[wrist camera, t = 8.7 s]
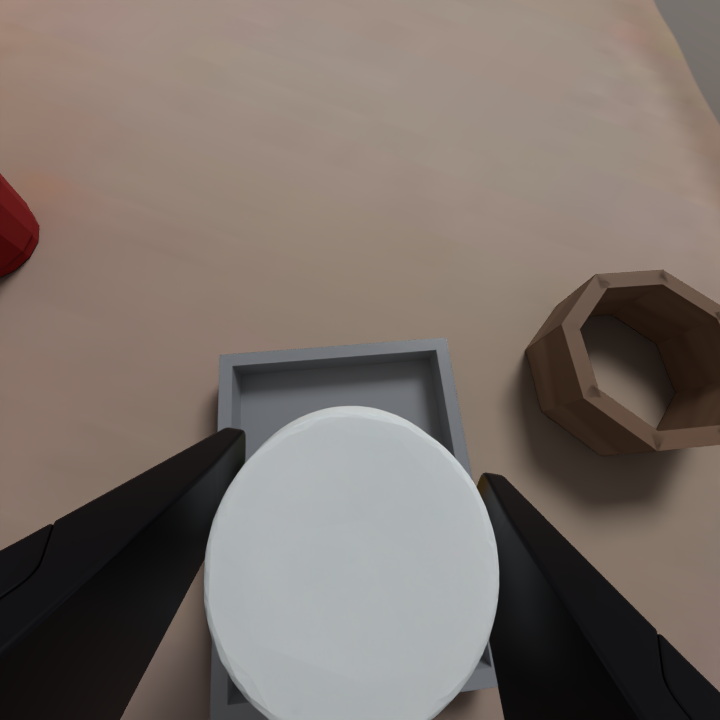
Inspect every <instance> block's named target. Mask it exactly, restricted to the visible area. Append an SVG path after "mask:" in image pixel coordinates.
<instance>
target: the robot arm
mask: <svg viewBox="0 0 720 720" xmlns="http://www.w3.org/2000/svg"><path fill="white" fill-rule="evenodd" d="M245 460H246V434H245V431H244V430H242V429H236V428H230V427H226V428H224V429H222V430H220V431H218V432H216V433H215V434H213V435H211V436H209V437H207V438H206V439H204V440H202V441H200V442H198V443H196V444H195V445H193V446H191V447H189V448H187V449H185V450H184V451H182V452H180V453H178V454H176V455H175V456H173V457H171V458H169V459H167V460H165V461H164V462H162V463H160V464H158V465H156V466H155V467H153V468H151V469H149V470H147V471H145V472H144V473H142V474H140V475H138V476H136V477H135V478H133V479H131V480H129V481H127V482H125V483H124V484H122V485H120V486H118V487H116V488H115V489H113V490H111V491H109V492H107V493H105V494H104V495H102V496H100V497H98V498H96V499H95V500H93V501H91V502H89V503H87V504H85V505H84V506H82V507H80V508H78V509H76V510H75V511H73V512H71V513H69V514H67V515H65V516H64V517H62V518H60V519H58V520H56V521H55V523H54V525H52V524H49V525H47V526H45V527H43V528H41V529H40V530H38V531H36V532H34V533H32V534H31V535H29V536H27V537H25V538H23V539H21V540H19V541H18V542H16V543H14V544H12V545H10V546H8V547H6V548H4V549H3V550H1V551H0V720H120V718H121V717H122V715H123V713H124V711H125V709H126V707H127V705H128V703H129V701H130V699H131V698H132V696H133V694H134V692H135V690H136V688H137V686H138V684H139V682H140V680H141V679H142V677H143V675H144V673H145V671H146V669H147V667H148V665H149V663H150V661H151V659H152V658H153V656H154V654H155V652H156V650H157V648H158V646H159V644H160V642H161V640H162V639H163V637H164V635H165V633H166V631H167V629H168V627H169V625H170V623H171V621H172V620H173V618H174V616H175V614H176V612H177V610H178V608H179V606H180V604H181V602H182V601H183V599H184V597H185V595H186V593H187V591H188V589H189V587H190V585H191V583H192V582H193V580H194V578H195V576H196V574H197V572H198V570H199V568H200V566H201V564H202V563H203V561H204V559H205V552H206V547H207V542H208V538H209V534H210V530H211V526H212V522H213V519H214V517H215V514H216V512H217V510H218V507H219V505H220V503H221V500H222V498H223V496H224V494H225V492H226V491H227V489H228V487H229V485H230V484H231V482H232V481H233V479H234V478H235V477H236V475H237V473H238V472H239V471H240V469H241V468H242V467H243V465H244V464H245ZM476 488H477V489H478V492H479V494H480V496H481V498H482V500H483V502H484V504H485V506H486V509H487V512H488V515H489V518H490V521H491V524H492V528H493V531H494V535H495V540H496V545H497V553H498V562H499V594H498V603H497V609H496V614H495V618H494V623H493V626H492V630H491V633H490V637H489V643H490V648H491V653H492V659H493V664H494V669H495V674H496V679H497V684H498V689H499V694H500V699H501V704H502V709H503V715H504V720H720V692H719V691H718V690H717V689H716V688H715V687H714V686H713V685H712V684H711V683H710V682H709V681H708V680H707V679H706V678H705V677H704V676H703V675H702V674H701V673H699V672H698V671H697V670H696V669H695V668H694V667H693V666H692V665H691V664H690V663H689V662H688V661H687V660H686V659H685V658H684V657H683V656H682V655H681V654H680V653H679V652H678V651H677V650H676V649H675V648H674V647H673V646H672V645H671V644H670V643H669V642H668V641H667V640H666V639H665V638H664V637H663V636H662V635H660V634H657V630H656V629H655V628H654V627H653V626H652V625H651V624H650V623H649V622H648V621H647V620H646V619H645V618H644V617H643V616H642V615H641V614H640V613H639V612H638V611H637V610H636V609H635V608H634V607H633V606H632V605H631V604H630V603H629V602H628V601H627V600H626V599H625V598H624V597H623V596H622V595H621V594H620V593H619V592H618V591H617V590H616V589H615V588H614V587H613V586H612V585H611V584H610V583H609V582H608V581H607V580H606V579H605V578H604V577H603V576H602V575H601V574H600V573H599V572H598V571H597V570H596V569H595V568H594V567H593V566H592V565H591V564H590V563H589V562H588V561H587V560H586V559H585V558H584V557H583V556H582V555H581V554H580V553H579V552H578V551H577V550H576V549H575V548H574V547H573V546H572V545H571V544H570V543H569V542H568V541H567V540H566V539H565V538H564V537H563V536H562V535H561V534H560V533H559V532H558V531H557V530H556V529H555V528H554V527H553V526H552V525H551V524H550V523H549V522H548V521H547V520H546V519H545V517H544V516H543V515H542V514H541V513H540V512H539V511H538V510H537V509H536V508H535V507H534V506H533V505H532V504H531V503H530V502H529V501H528V500H527V499H526V498H525V497H524V496H523V495H522V494H521V493H520V492H519V491H518V490H517V489H516V488H515V487H514V486H513V485H512V484H511V483H510V482H509V481H508V480H507V479H506V478H505V477H503V476H502V475H498V474H492V473H483V474H482V475H481V477H480V479H479V482H478V485H477V487H476Z"/></svg>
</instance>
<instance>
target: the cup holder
mask: <svg viewBox="0 0 720 720" xmlns="http://www.w3.org/2000/svg"><path fill="white" fill-rule="evenodd" d="M601 315H613V316H615V317H616V318H618V319H619V320H621V321H622V322H624V323H625V324H627V325H628V326H630V327H631V328H633V329H634V330H636V331H637V332H639V333H640V334H642V335H644V336H645V337H647V338H648V339H650V340H651V341H653V342H654V343H656V344H657V346H658V349H659V351H660V354H661V357H662V359H663V362H664V364H665V367H666V370H667V372H668V375H669V377H670V380H671V383H672V385H673V388H674V391H675V395H674V397H673V399H672V401H671V403H670V405H669V407H668V408H667V410H666V412H665V414H664V416H663V418H662V420H661V422H660V424H659V426H658V427H657V429H654V428H653V427H651V426H650V425H649V424H647V423H646V422H644V421H643V420H642V419H640V418H639V417H637V416H636V415H634V414H633V413H632V412H630V411H629V410H627V409H626V408H625V407H623V406H622V405H620V404H619V403H618V402H616V401H615V400H613V399H612V398H610V397H609V396H608V395H606V394H605V393H603V392H602V391H601V390H599V389H598V386H597V382H596V379H595V376H594V373H593V370H592V366H591V363H590V360H589V357H588V354H587V351H586V347H585V344H584V341H583V338H582V335H581V332H580V328H581V327H582V325H583V324H584V322H585V321H586V319H587V318H588V316H601ZM526 353H527V357H528V360H529V364H530V368H531V372H532V376H533V380H534V384H535V388H536V391H537V395H538V399H539V403H540V407H541V411H542V412H543V413H544V414H545V415H547V416H548V417H549V418H551V419H552V420H553V421H555V422H556V423H557V424H559V425H560V426H562V427H563V428H564V429H566V430H567V431H568V432H570V433H571V434H572V435H574V436H575V437H576V438H578V439H579V440H580V441H582V442H583V443H584V444H586V445H587V446H588V447H590V448H591V449H592V450H594V451H595V452H597V453H598V454H599V455H600V456H607V455H619V454H631V453H644V452H656V451H663V450H672V449H682V448H692V447H701V446H711V445H720V305H719V304H717V303H716V302H714V301H712V300H711V299H709V298H708V297H706V296H704V295H703V294H701V293H700V292H698V291H696V290H695V289H693V288H691V287H690V286H688V285H687V284H685V283H683V282H682V281H680V280H679V279H677V278H675V277H674V276H672V275H671V274H669V273H667V272H666V271H664V270H652V271H637V272H622V273H607V274H595V275H594V276H593V277H592V278H590V279H589V280H588V281H587V282H585V283H584V284H583V285H582V286H581V287H579V288H578V289H577V290H576V291H574V292H573V293H572V294H571V295H569V296H568V297H567V298H566V299H564V300H563V301H562V302H561V303H559V304H558V305H557V306H556V307H555V309H554V310H553V312H552V313H551V314H550V316H549V317H548V319H547V320H546V321H545V323H544V324H543V326H542V327H541V329H540V330H539V331H538V333H537V334H536V336H535V337H534V338H533V340H532V341H531V343H530V344H529V345H528V347H527V348H526Z"/></svg>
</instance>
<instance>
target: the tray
mask: <svg viewBox="0 0 720 720" xmlns="http://www.w3.org/2000/svg"><path fill="white" fill-rule="evenodd" d="M338 406H363V407H371V408H376V409H380V410H383V411H387V412H389V413H392V414H395V415H397V416H399V417H402V418H404V419H406V420H408V421H409V422H411V423H413V424H414V425H416V426H417V427H419V428H420V429H422V430H423V431H424V432H425V433H427V434H428V435H429V436H431V437H432V438H434V439H435V440H436V441H438V442H439V443H440V444H441V445H442V446H444V447H445V448H446V449H447V450H448V451H449V452H450V453H451V454H452V455H453V456H454V458H455V459H456V460H457V461H458V462H459V463H460V464H461V466H462V467H463V468H464V469H465V471H466V472H467V473H468V474H469V476H470V477H471V479H472V474H471V468H470V463H469V457H468V452H467V447H466V441H465V436H464V431H463V425H462V420H461V414H460V409H459V404H458V398H457V393H456V388H455V382H454V377H453V371H452V366H451V361H450V355H449V350H448V345H447V339H446V338H434V339H421V340H408V341H395V342H382V343H369V344H356V345H343V346H330V347H317V348H304V349H291V350H278V351H265V352H252V353H239V354H226V355H220V360H219V397H218V431H220V430H222V429H224V428H226V427H230V428H236V429H242V430H244V431H245V434H246V460H245V463H246V462H247V461H248V460H249V459H250V457H251V456H252V455H253V454H254V453H255V452H256V451H257V450H258V449H259V448H260V447H261V446H262V445H263V443H264V442H266V441H267V440H268V439H269V438H270V437H271V436H272V435H274V434H275V433H276V432H277V431H279V430H280V429H281V428H283V427H284V426H286V425H287V424H289V423H290V422H292V421H294V420H296V419H298V418H300V417H302V416H304V415H307V414H309V413H312V412H315V411H318V410H322V409H326V408H331V407H338ZM472 481H473V479H472ZM492 687H498V684H497V679H496V674H495V669H494V664H493V659H492V653H491V648H490V643H489V640H488V642H487V645H486V647H485V650H484V652H483V655H482V657H481V659H480V660H479V662H478V664H477V666H476V668H475V670H474V672H473V674H472V675H471V677H470V678H469V679H468V681H467V682H466V684H465V685H464V686H463V688H462V689H461V690H460V692H465V691H471V690H478V689H485V688H492ZM210 720H268V719H267V718H265V717H264V716H263V715H262V714H261V713H260V712H259V711H257V710H256V709H255V708H254V707H253V706H252V704H251V703H250V702H249V701H248V700H247V699H246V698H245V697H244V696H243V694H242V693H241V692H240V690H239V689H238V688H237V687H236V685H235V684H234V682H233V681H232V679H231V678H230V676H229V675H228V673H227V672H226V670H225V668H224V666H223V664H222V662H221V660H220V658H219V656H218V653H217V651H216V649H215V646H214V643H213V640H212V653H211V690H210Z"/></svg>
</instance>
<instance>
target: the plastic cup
mask: <svg viewBox="0 0 720 720" xmlns="http://www.w3.org/2000/svg"><path fill="white" fill-rule="evenodd" d="M38 238H39V225H38V223H37V221H36V219H35V217H34V215H33V213H32V212H31V211H30V209H29V207H28V206H27V204H26V202H25V201H24V200H23V199H22V198H21V197H20V196H19V194H18V193H17V192H16V191H15V190H14V189H13V188H12V186H11V185H10V184H9V183H8V182H7V181H6V180H5V178H4V177H3V176H2V175H1V174H0V277H2V276H4V275H6V274H8V273H11V272H13V271H14V270H16V269H17V268H18V267H19V266H20V265H21V264H22V263H23V262H25V261H26V260H27V259H28V258H29V257H30V255H31V254H32V252H33V250H34V248H35V246H36V245H37V243H38Z"/></svg>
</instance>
